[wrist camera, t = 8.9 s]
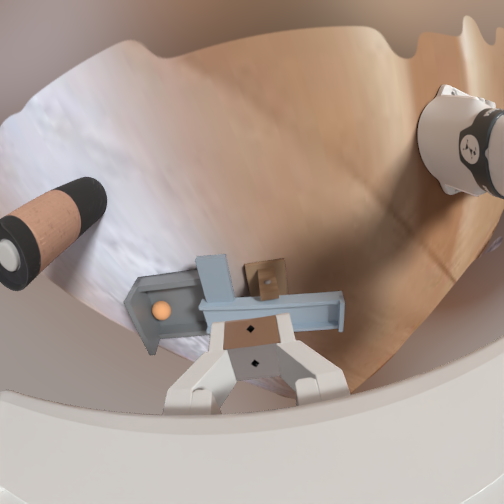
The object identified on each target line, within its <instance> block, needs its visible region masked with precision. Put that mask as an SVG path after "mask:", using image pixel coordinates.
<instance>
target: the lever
mask: <svg viewBox="0 0 504 504" xmlns="http://www.w3.org/2000/svg"><path fill="white" fill-rule="evenodd" d="M195 262H196V266H197V269H198V273H199V277H200V280H201V284H202V287H203V291H204V294H205V298H206V299H202V300H201V303H200V305H199V310H203V313H204V316H205V319H206V322H207V325H208V327H207V330H206V331H207V334H210V332H211V325H212V323H213V322H222V321H231V320H241V319H251V318H258V317H265V316H271V315H276V314H282V313H287V312H288V313H289V314H290V318H291V322H292V327H293V331H294V332H298V331H313V330H326V329H338V330H339V332H343V325H344V310H345V301H344V297H343V293H342V291H333V292H321V293H308V294H293V295H279V298H278V299H271V300H265V301H261V296H259V297H238V298H235V295H234V290H233V286H232V281H231V276H230V272H229V267H228V262H227V258H226V254H220V255H207V256H197V257H196V259H195Z"/></svg>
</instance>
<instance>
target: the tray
mask: <svg viewBox="0 0 504 504" xmlns="http://www.w3.org/2000/svg"><path fill="white" fill-rule="evenodd" d="M202 299H206V298H205V294H204V291H203V287H202V284H201V280H200V277H199V273H198V269H194V270H187V271H180V272H173V273H166V274H158V275H151V276H144V277H138V278H137V280H136V281H135V283H134V285H133V287H132V288H131V290H130V292H129V294H128V296H127V297H126V299H125V301H124V304H125V306H126V308H127V310H128V313H129V315H130V317H131V319H132V321H133V323H134V325H135V327H136V329H137V331H138V333H139V335H140V337H141V339H142V341H143V343H144V345H145V347H146V349H147V351H148V353H149V355H155V354H156V351H157V347H158V344H159V341H160V339H164V338H178V337H191V336H202V335H210V334H207V331H206V330H207V327H208V325H207V322H206V319H205V316H204V313H203V310H199V305H200V303H201V300H202ZM158 301H165V302H167V303H168V304H169V305H170V307H171V314H170V316H169V317H168V318H167V319H165V320H158V319H156V318H155V317H154V315H153V313H152V307H153V305H154V304H155V303H156V302H158Z"/></svg>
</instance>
